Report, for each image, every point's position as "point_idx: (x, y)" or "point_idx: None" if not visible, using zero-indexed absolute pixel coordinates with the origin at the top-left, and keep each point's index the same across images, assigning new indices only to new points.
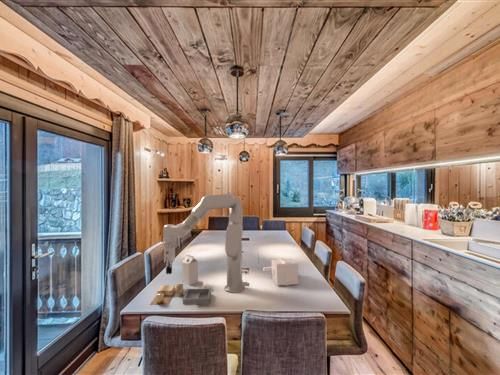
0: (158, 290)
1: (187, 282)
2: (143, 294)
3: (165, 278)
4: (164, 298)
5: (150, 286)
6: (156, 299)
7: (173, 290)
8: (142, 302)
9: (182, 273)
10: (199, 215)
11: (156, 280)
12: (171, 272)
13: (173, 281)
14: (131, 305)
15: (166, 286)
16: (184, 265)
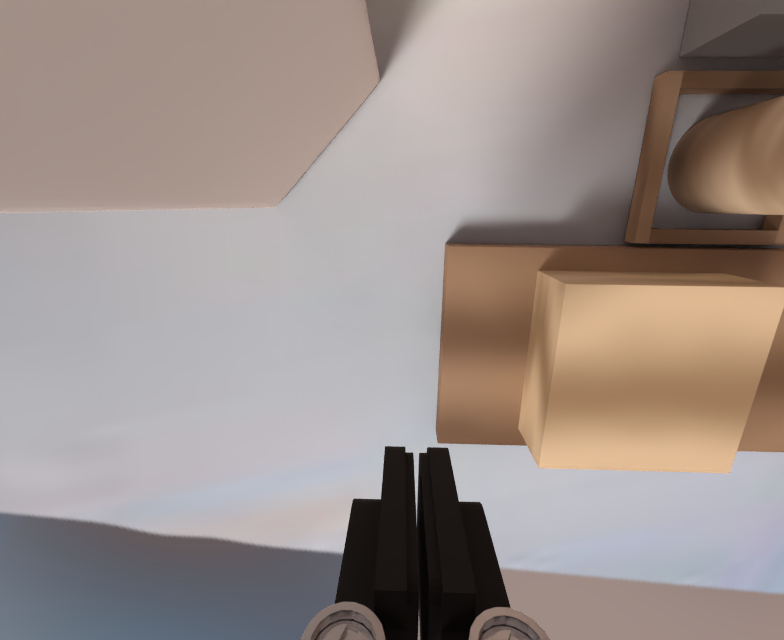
0: (714, 464)
1: (345, 98)
2: (526, 558)
3: (85, 458)
4: (780, 342)
5: (327, 547)
6: (773, 422)
7: (619, 275)
8: (719, 524)
9: (192, 208)
10: None
11: (158, 531)
12: (402, 456)
13: (172, 349)
14: (752, 587)
15: (589, 394)
16: (42, 69)
